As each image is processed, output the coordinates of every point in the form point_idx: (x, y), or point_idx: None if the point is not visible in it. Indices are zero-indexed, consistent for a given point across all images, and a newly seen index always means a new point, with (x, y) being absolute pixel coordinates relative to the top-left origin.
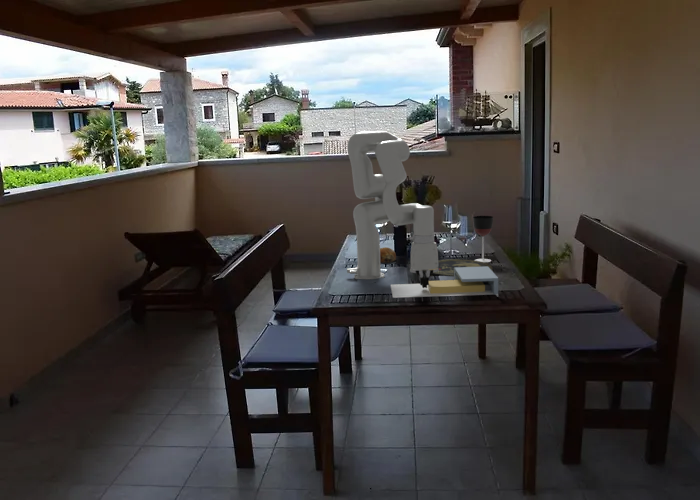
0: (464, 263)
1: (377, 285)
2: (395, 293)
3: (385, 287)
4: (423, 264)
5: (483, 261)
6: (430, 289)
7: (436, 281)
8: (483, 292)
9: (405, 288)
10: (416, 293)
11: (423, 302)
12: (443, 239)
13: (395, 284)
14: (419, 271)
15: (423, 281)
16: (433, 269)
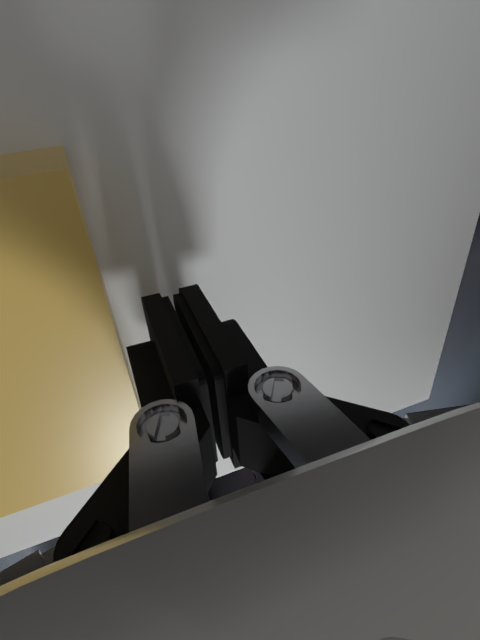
0: None
1: (472, 400)
2: (473, 141)
3: (445, 373)
4: (446, 638)
5: None
6: (64, 156)
7: (31, 475)
8: None
9: (349, 327)
10: (263, 143)
11: None
12: None
13: (397, 410)
14: (362, 442)
15: (213, 332)
16: (12, 583)
